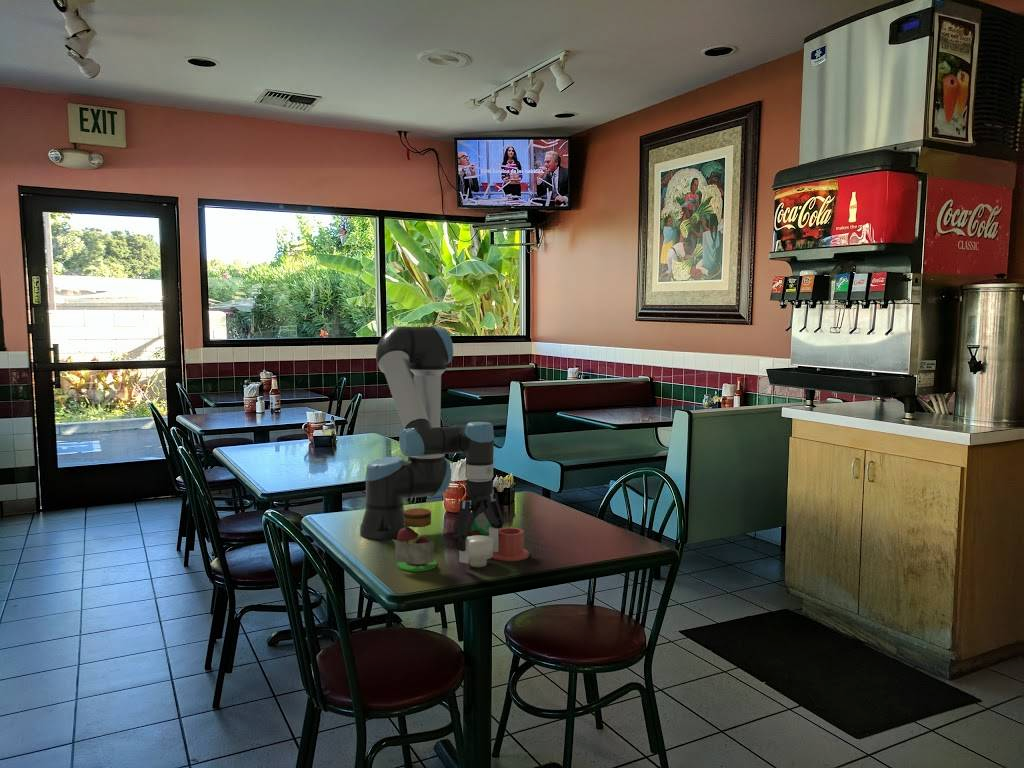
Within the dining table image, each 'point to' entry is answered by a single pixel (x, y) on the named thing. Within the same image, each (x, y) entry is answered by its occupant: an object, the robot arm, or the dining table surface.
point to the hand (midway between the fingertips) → (479, 556)
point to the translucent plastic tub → (418, 552)
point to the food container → (481, 526)
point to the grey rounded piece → (480, 550)
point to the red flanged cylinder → (510, 545)
